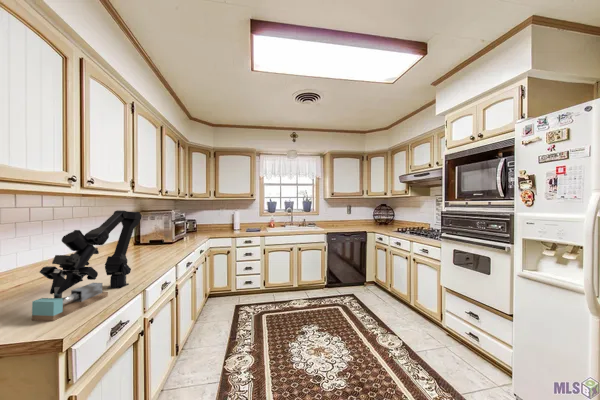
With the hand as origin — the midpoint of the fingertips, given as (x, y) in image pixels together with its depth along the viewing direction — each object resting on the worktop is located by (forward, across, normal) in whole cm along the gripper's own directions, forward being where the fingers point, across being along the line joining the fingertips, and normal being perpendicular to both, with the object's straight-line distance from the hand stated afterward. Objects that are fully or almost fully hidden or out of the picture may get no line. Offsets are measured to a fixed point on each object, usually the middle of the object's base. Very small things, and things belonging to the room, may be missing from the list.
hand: (54, 293), depth 92 cm
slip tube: (+1, 0, +7) cm, 7 cm away
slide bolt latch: (0, 0, +11) cm, 11 cm away
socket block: (+6, 0, +3) cm, 7 cm away
